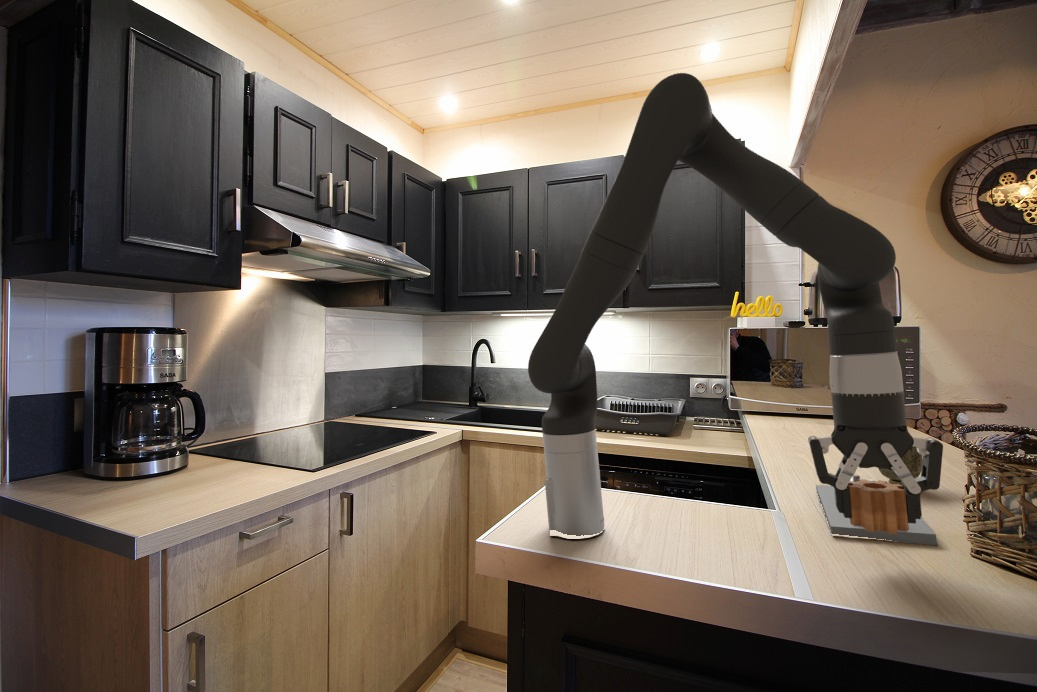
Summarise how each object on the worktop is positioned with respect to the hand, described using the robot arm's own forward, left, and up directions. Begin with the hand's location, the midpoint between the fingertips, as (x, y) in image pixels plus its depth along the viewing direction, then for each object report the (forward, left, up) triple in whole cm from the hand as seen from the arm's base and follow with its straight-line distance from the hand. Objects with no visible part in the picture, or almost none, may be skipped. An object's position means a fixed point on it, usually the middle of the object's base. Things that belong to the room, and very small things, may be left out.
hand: (877, 518), depth 59 cm
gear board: (+7, +18, -6) cm, 20 cm away
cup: (+20, +32, -6) cm, 38 cm away
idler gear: (0, 0, -1) cm, 1 cm away
